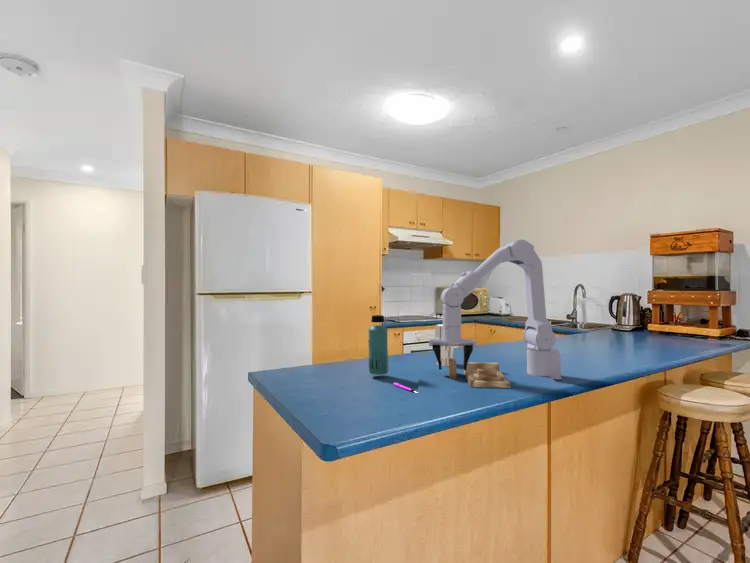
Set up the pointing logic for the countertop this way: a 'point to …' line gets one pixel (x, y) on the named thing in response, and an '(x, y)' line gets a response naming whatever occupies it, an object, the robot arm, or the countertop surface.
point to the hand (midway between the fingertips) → (452, 369)
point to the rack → (471, 379)
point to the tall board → (452, 368)
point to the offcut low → (488, 378)
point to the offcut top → (486, 372)
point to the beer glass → (445, 350)
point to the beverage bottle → (378, 347)
